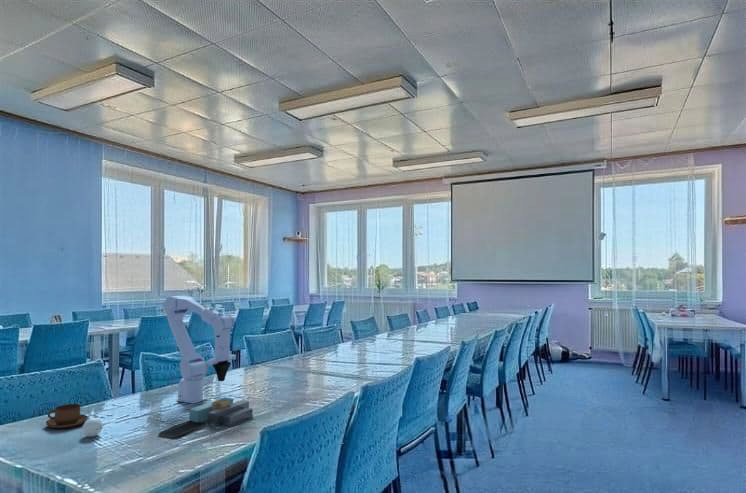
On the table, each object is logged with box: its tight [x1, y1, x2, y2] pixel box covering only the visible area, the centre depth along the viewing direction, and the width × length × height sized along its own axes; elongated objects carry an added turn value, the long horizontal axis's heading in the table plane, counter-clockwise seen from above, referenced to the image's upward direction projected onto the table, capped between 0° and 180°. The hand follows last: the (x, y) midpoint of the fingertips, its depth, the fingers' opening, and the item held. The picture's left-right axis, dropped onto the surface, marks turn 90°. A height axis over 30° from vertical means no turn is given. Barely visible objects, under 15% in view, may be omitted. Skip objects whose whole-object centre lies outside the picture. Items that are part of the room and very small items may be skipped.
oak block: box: [211, 398, 230, 411], centre depth 173 cm, size 4×4×6 cm
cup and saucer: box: [45, 403, 89, 429], centre depth 163 cm, size 12×12×6 cm
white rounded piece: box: [81, 417, 103, 438], centre depth 153 cm, size 8×6×6 cm
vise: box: [207, 399, 254, 428], centre depth 171 cm, size 7×18×4 cm, turn 156°
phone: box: [158, 420, 207, 440], centre depth 159 cm, size 8×1×15 cm
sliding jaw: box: [188, 397, 234, 423], centre depth 175 cm, size 4×18×4 cm, turn 156°
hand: (221, 380), depth 190 cm, fingers closed
